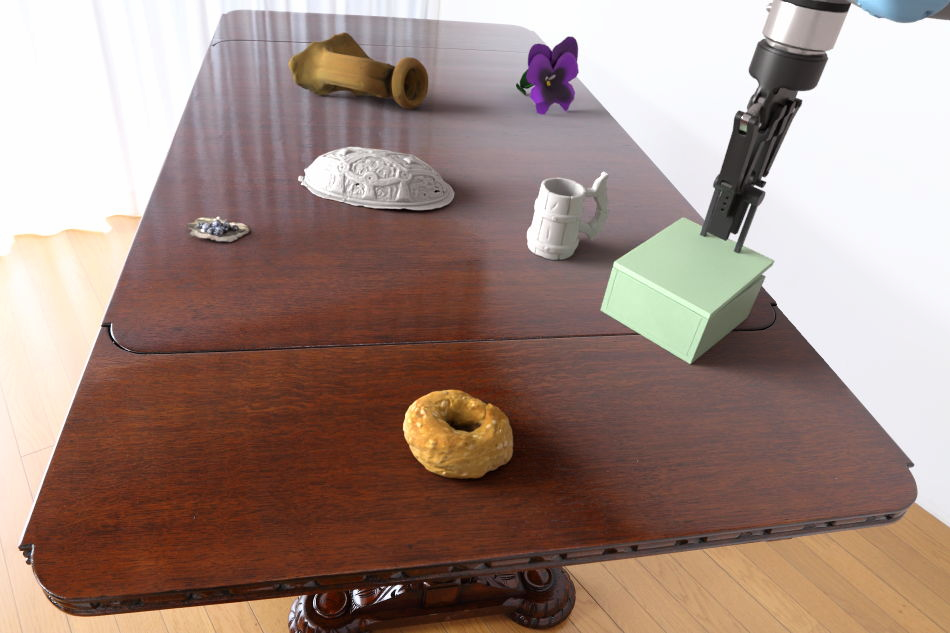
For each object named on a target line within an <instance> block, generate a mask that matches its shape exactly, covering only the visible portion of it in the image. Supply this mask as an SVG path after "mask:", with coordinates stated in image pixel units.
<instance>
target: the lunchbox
mask: <svg viewBox="0 0 950 633" xmlns="http://www.w3.org/2000/svg"><path fill="white" fill-rule="evenodd" d="M611 268H612V269H611V272H610V276H609V279H608V283H607V286H606V289H605V293H604V296H603V299H602V303H601V307H600V312H602V313H604V314H606V315H607V316H609V317H610V318H612V319H614V320H616V321H617V322H619V323H620V324H623V325H624V326H626V327H627V328H629V329H631V330H632V331H634V332H635V333H637V334H639V335H640V336H642V337H644V338H645V339H647V340H649V341H650V342H652V343H654V344H655V345H657V346H659V347H661V348H662V349H664V350H666V351H667V352H669V353H671V354H672V355H674V356H675V357H677V358H679V359H681V360H682V361H684V362H685V363H687V364H689V365H692V364H693V363H694V362H695V361H696V360H698V359H699V358H700V357H701V356H702V355H703V354H705V353H706V352H707V351H709V350H710V349H711V348H713V346H715V345H716V344H717V343H718V342H720V341H721V340H722V339H723V338H725V337H726V336H727V335H728V334H729V333H731V332H732V331H733V330H734V329H736V328H737V327H738V326H739V325H740V324H742V323H743V322H744V321H746V320H747V319H748V317H749V315H750V313H751V310H752V309H753V306H754V304H755V302H756V300H757V298H758V295H759V292H760V290H761V289H762V286H763V284H764V282H765V279H766V275H765V274H762V275H761V276H759V277H758V278H757V279H756V280H755V281H754V282H752V283H751V284H750V285H749V286H748V287H747V288H745V289H744V290H743V291H742V292H741V293H739V294H738V295H737V296H736V297H735V298H734V299H732V300H731V301H730V302H729V303H728V304H726V305H725V306H724V307H723V308H722V309H721V310H719V311H718V312H717V313H716V314H715V315H714V316H712V317H711V318H710V319H707V318H705V317H703V316H701V315H700V314H698V313H696V312H694V311H692V310H691V309H689V308H687V307H685V306H683V305H682V304H680V303H678V302H676V301H674V300H672V299H671V298H669V297H667V296H665V295H663V294H662V293H660V292H658V291H656V290H654V289H653V288H651V287H649V286H647V285H645V284H644V283H642V282H640V281H638V280H636V279H634V278H633V277H631V276H629V275H627V274H625V273H624V272H622V271H620V270H618V269H616V268H615V267H613V266H612V267H611Z"/></svg>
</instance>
